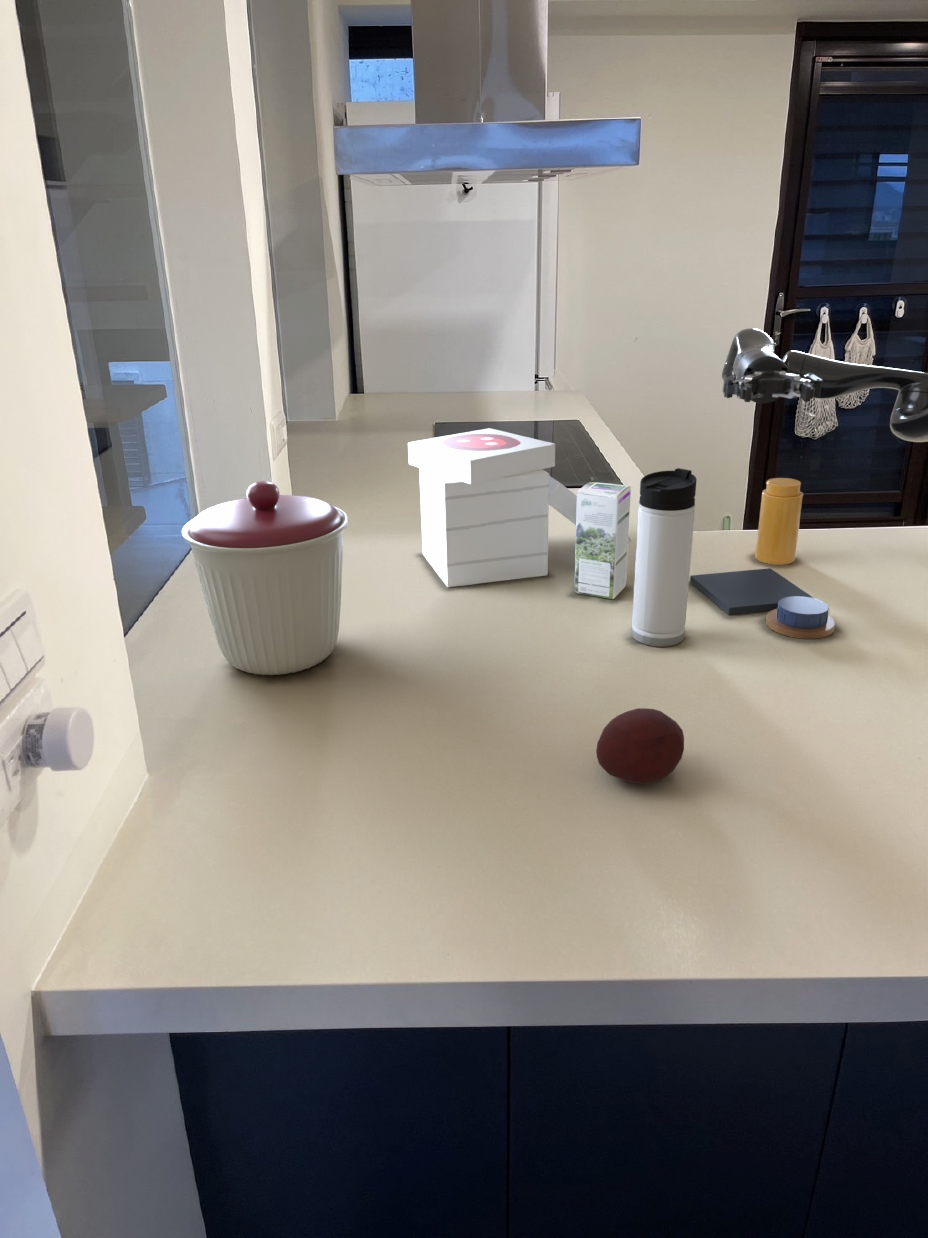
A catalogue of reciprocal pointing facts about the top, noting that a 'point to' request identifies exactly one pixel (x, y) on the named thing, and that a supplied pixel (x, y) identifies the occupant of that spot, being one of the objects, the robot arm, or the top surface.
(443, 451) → the pizza boxes
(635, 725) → the potato
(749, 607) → the mat
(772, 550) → the jar
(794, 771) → the top surface
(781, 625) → the coaster
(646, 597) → the travel mug
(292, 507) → the canister
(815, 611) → the jar lid
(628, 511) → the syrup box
